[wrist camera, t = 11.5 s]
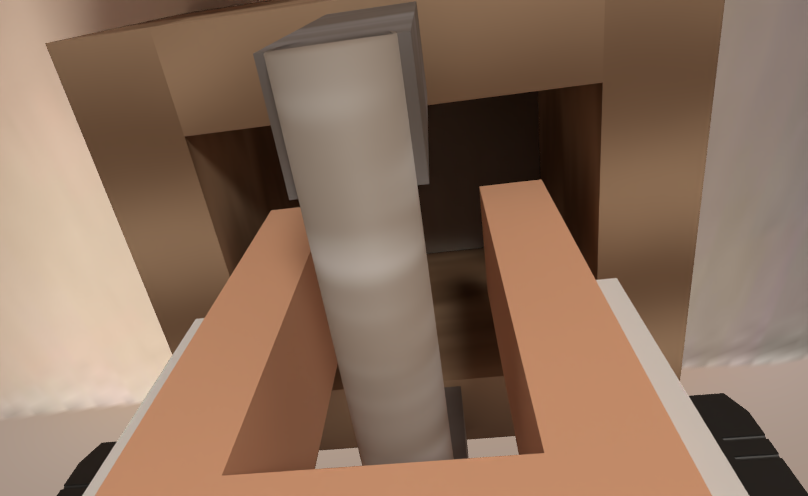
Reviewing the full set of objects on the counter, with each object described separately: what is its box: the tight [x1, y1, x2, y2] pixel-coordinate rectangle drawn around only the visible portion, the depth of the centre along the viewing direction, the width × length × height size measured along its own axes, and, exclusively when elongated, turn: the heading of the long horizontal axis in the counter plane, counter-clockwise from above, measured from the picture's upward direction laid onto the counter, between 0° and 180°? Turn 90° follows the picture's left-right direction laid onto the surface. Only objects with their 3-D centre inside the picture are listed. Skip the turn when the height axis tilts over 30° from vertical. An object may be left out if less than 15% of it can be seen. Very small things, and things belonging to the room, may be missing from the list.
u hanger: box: [95, 179, 712, 496], centre depth 13 cm, size 4×9×13 cm, turn 98°
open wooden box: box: [45, 0, 725, 466], centre depth 19 cm, size 16×18×18 cm
